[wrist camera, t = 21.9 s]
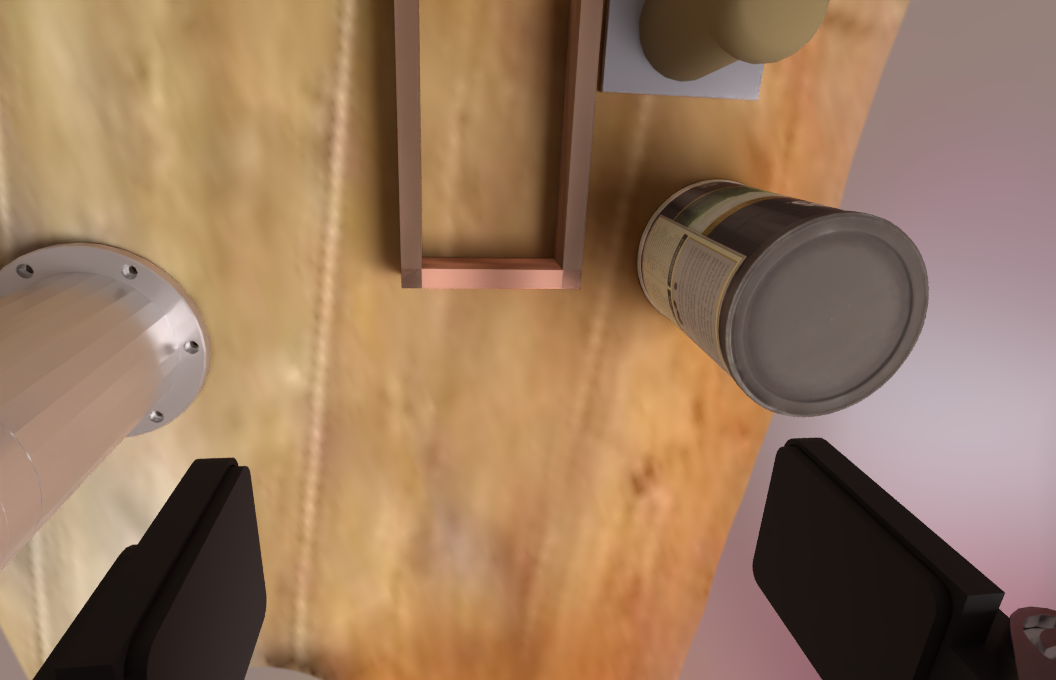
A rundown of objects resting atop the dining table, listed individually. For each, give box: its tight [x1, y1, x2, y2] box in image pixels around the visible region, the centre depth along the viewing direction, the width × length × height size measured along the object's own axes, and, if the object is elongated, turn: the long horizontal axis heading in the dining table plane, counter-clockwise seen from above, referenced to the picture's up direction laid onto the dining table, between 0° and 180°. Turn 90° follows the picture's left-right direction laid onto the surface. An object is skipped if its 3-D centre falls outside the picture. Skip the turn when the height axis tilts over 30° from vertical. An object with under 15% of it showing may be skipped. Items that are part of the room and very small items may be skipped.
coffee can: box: [637, 179, 929, 417], centre depth 36 cm, size 10×10×14 cm
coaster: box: [600, 0, 764, 100], centre depth 36 cm, size 10×10×1 cm
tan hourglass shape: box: [639, 0, 830, 82], centre depth 31 cm, size 6×6×11 cm
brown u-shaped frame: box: [394, 0, 603, 289], centre depth 36 cm, size 11×18×3 cm, turn 177°
